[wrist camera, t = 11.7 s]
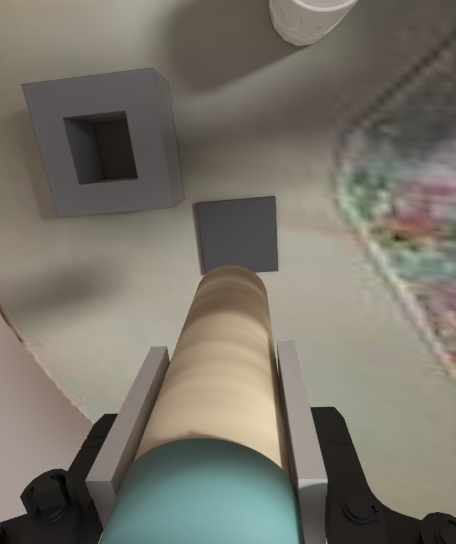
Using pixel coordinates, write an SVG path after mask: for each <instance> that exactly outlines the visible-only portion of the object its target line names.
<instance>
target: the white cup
mask: <svg viewBox="0 0 456 544" xmlns="http://www.w3.org/2000/svg"><path fill="white" fill-rule="evenodd" d="M358 1H359V0H269V11H270V15H271V19H272V23H273V27H274V28H275V30H276V31H277V32H278V34H279V35H280V36H281V37H282V39H283V40H284V41H287V42H289V43H292V44H294V45H296V46H303V45H310V44H314V43H316V42H317V41H319V40H320V39H322V38H323V37H324V36H326V35H327V34H328V33H329V32H330V31H331V30H332V29H333V28H334V27H335V26H336V25H337V24H338V23H339V22H340V21H341V20H342V19H343V18H344V17H345V16H346V15H347V14H348V12H349V11H350V10H351V9H352V8H353V7H354V5H355V4H356V3H357V2H358Z"/></svg>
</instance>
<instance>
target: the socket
mask: <svg viewBox="0 0 456 544" xmlns="http://www.w3.org/2000/svg"><path fill="white" fill-rule="evenodd" d="M21 85H22V88H23V92H24V95H25V99H26V103H27V106H28V110H29V113H30V117H31V120H32V124H33V128H34V131H35V135H36V138H37V142H38V145H39V149H40V152H41V156H42V160H43V163H44V167H45V170H46V174H47V177H48V181H49V184H50V188H51V192H52V195H53V199H54V202H55V206H56V209H57V213H58V217H70V216H82V215H93V214H105V213H117V212H129V211H140V210H152V209H164V208H173V207H175V206H176V205H177V204H179V203H180V202H182V201H183V200H184V192H183V185H182V178H181V170H180V163H179V156H178V149H177V141H176V134H175V127H174V120H173V113H172V105H171V98H170V91H169V84H168V82H167V81H166V80H165V79H164V78H163V77H162V76H161V75H160V74H158V73H157V72H156V71H155V70H154V69H153V68H146V69H138V70H130V71H122V72H114V73H106V74H98V75H90V76H82V77H74V78H67V79H59V80H51V81H43V82H35V83H27V84H21ZM125 119H127V122H128V127H129V133H130V138H131V143H132V149H133V154H134V160H135V165H136V171H137V176H138V177H129V178H118V179H108V180H105V178H104V174H103V169H102V164H101V160H100V155H99V151H98V146H97V142H96V137H95V133H94V128H93V124H92V123H98V122H107V121H116V120H125Z"/></svg>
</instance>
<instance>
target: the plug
mask: <svg viewBox="0 0 456 544" xmlns="http://www.w3.org/2000/svg"><path fill="white" fill-rule="evenodd" d="M99 544H305V540H304V533H303V526H302V519H301V512H300V506H299V501H298V494H297V491H296V488H295V486H294V484H293V481H292V474H291V467H290V460H289V452H288V445H287V438H286V430H285V423H284V416H283V408H282V401H281V394H280V386H279V379H278V372H277V364H276V357H275V350H274V343H273V335H272V328H271V321H270V313H269V306H268V299H267V292H266V288H265V286H264V284H263V282H262V280H261V279H260V278H259V277H258V276H257V275H256V274H255V273H254V272H252V271H251V270H249V269H247V268H245V267H242V266H237V265H225V266H220V267H217V268H215V269H213V270H211V271H210V272H209V273H207V274H206V275H205V276H204V277H203V279H202V280H201V282H200V283H199V286H198V288H197V291H196V294H195V296H194V299H193V302H192V305H191V307H190V310H189V313H188V315H187V318H186V321H185V324H184V326H183V329H182V332H181V334H180V337H179V340H178V343H177V345H176V348H175V351H174V353H173V356H172V359H171V361H170V364H169V367H168V370H167V372H166V375H165V378H164V380H163V383H162V386H161V389H160V391H159V394H158V397H157V399H156V402H155V405H154V408H153V410H152V413H151V416H150V418H149V421H148V424H147V426H146V429H145V432H144V435H143V437H142V440H141V443H140V445H139V448H138V451H137V454H136V456H135V459H134V462H133V464H132V465H131V466H130V467H129V469H128V471H127V472H126V474H125V476H124V479H123V481H122V484H121V487H120V489H119V492H118V495H117V497H116V500H115V502H114V505H113V508H112V510H111V513H110V516H109V518H108V521H107V523H106V526H105V529H104V531H103V534H102V537H101V539H100V542H99Z"/></svg>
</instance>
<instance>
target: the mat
mask: <svg viewBox="0 0 456 544" xmlns="http://www.w3.org/2000/svg"><path fill="white" fill-rule="evenodd" d="M197 208H198V216H199V224H200V232H201V240H202V248H203V256H204V264H205V272H206V274H207V273H209V272H210V271H211V270H213V269H215V268H217V267H220V266H225V265H237V266H242V267H245V268H247V269H249V270H251V271H252V272H254V273H256V272H271V271H278V251H277V225H276V199H275V196H268V197H256V198H245V199H233V200H221V201H210V202H198V203H197Z"/></svg>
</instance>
